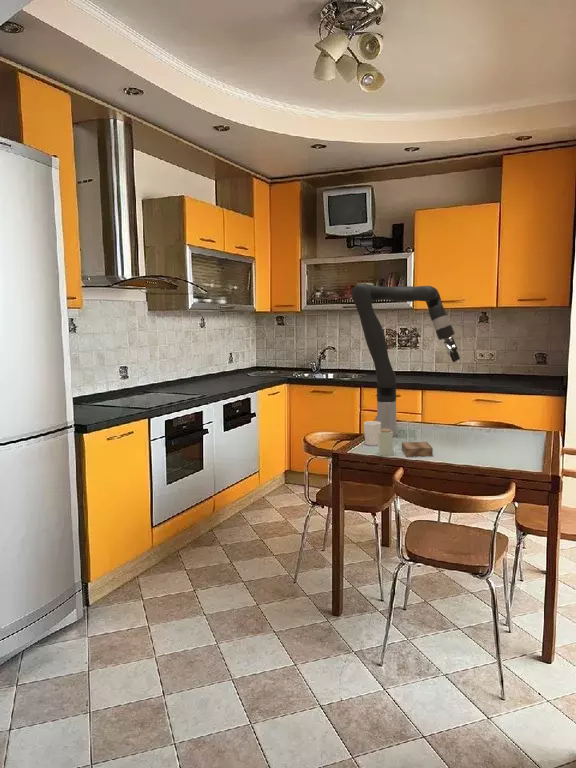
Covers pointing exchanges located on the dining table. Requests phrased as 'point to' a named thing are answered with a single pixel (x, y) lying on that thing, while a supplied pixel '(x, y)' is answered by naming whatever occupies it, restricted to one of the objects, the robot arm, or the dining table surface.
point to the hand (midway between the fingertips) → (456, 360)
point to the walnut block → (417, 449)
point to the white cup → (371, 432)
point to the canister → (385, 442)
